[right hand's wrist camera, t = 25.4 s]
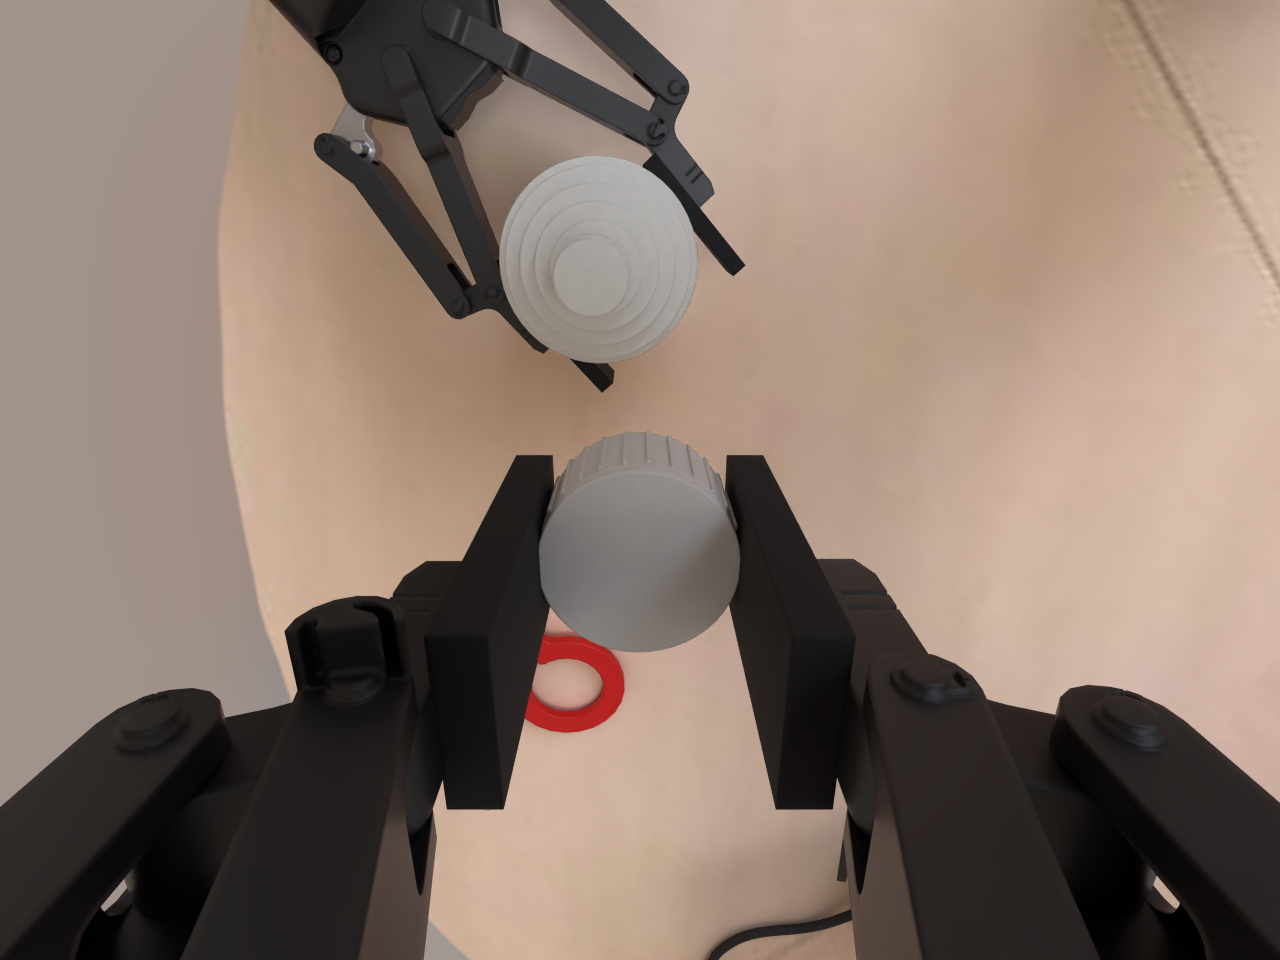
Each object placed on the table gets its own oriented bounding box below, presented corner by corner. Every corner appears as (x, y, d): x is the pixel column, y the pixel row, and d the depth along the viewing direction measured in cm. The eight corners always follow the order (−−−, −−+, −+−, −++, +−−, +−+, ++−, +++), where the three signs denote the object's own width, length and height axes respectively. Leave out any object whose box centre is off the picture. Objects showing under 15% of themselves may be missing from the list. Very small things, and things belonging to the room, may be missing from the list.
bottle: (683, 307, 41) (718, 384, 23) (553, 320, 41) (493, 406, 24) (672, 163, 38) (703, 130, 20) (532, 178, 38) (447, 159, 21)
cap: (746, 443, 14) (765, 485, 12) (710, 604, 15) (721, 667, 13) (560, 415, 14) (545, 452, 11) (540, 581, 15) (524, 641, 13)
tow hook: (644, 659, 50) (530, 610, 48) (655, 806, 39) (505, 750, 36) (591, 736, 53) (481, 693, 51) (586, 895, 41) (444, 848, 39)
